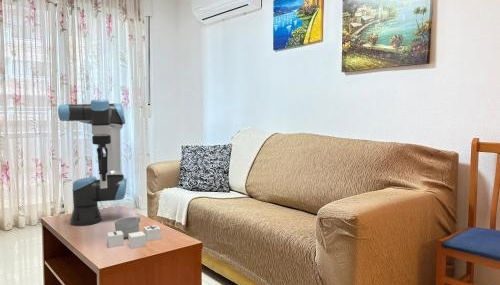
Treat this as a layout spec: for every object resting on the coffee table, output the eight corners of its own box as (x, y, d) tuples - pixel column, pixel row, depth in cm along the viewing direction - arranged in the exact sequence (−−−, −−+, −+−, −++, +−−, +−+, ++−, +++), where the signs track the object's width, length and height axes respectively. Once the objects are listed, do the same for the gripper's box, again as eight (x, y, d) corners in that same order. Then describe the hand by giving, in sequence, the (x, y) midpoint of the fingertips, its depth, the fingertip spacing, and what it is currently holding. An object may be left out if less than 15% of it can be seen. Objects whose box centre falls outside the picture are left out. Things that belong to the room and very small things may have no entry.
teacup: (124, 241, 166) (124, 223, 165) (110, 237, 172) (109, 220, 171) (149, 233, 177) (149, 216, 176) (135, 229, 183) (134, 213, 183)
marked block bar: (107, 243, 163) (107, 232, 163) (121, 241, 166) (121, 230, 165) (109, 248, 158) (108, 236, 157) (123, 245, 160) (123, 233, 160)
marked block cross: (144, 237, 170) (143, 226, 170) (157, 235, 173) (156, 224, 173) (147, 241, 165) (147, 230, 165) (160, 239, 168) (160, 227, 168)
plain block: (128, 244, 161) (128, 233, 161) (142, 242, 164) (142, 231, 164) (131, 249, 156) (131, 237, 156) (146, 246, 159) (145, 234, 159)
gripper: (113, 135, 158) (115, 189, 161) (107, 133, 170) (110, 184, 172) (94, 136, 155) (97, 191, 157) (90, 134, 166) (92, 186, 168)
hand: (103, 187), depth 165 cm, fingers closed
